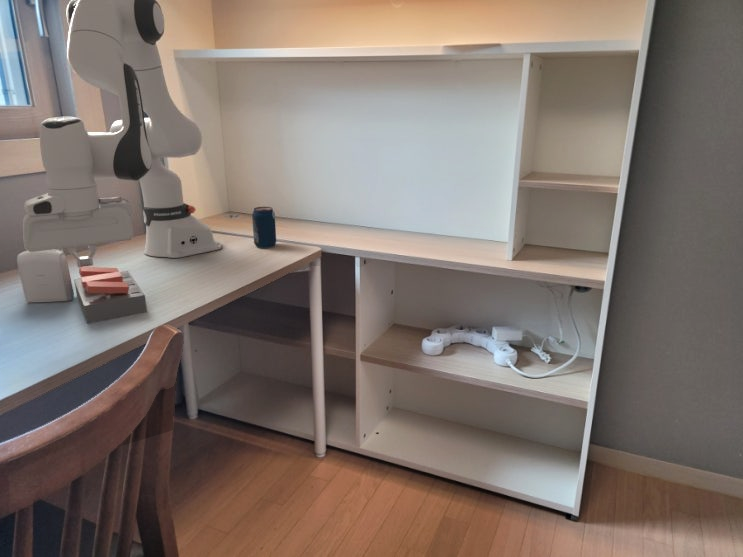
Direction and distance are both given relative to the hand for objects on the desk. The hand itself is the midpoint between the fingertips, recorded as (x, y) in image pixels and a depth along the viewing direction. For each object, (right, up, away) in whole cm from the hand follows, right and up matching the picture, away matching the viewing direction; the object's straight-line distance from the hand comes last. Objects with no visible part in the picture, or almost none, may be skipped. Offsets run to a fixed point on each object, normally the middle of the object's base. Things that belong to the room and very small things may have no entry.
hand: (85, 265), depth 115 cm
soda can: (+27, +7, +58) cm, 64 cm away
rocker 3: (+3, -6, +4) cm, 8 cm away
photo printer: (-15, -8, +13) cm, 21 cm away
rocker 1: (-4, -2, +14) cm, 14 cm away
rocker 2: (-1, -4, +9) cm, 10 cm away
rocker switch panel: (0, -8, +11) cm, 14 cm away
